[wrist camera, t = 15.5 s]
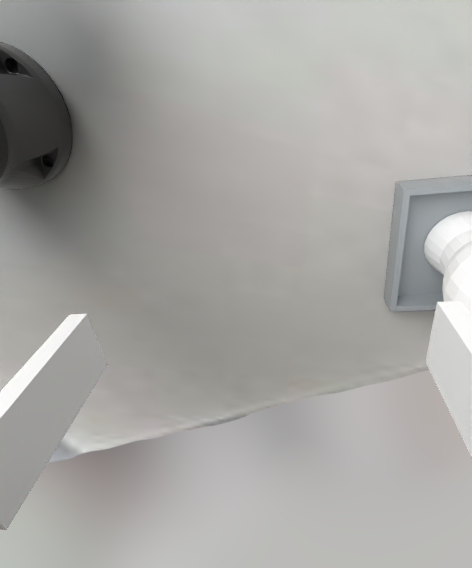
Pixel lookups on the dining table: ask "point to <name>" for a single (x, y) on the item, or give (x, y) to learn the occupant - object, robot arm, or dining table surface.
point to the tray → (420, 239)
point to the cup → (453, 256)
